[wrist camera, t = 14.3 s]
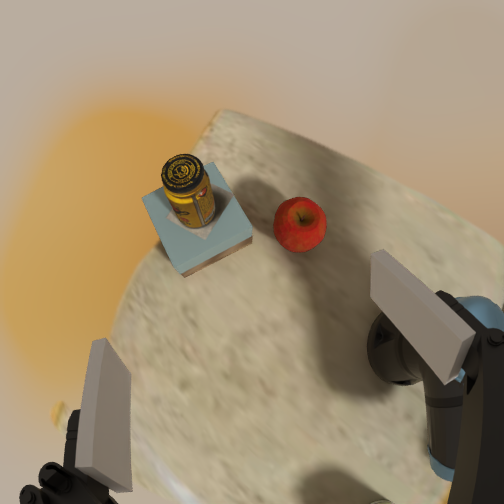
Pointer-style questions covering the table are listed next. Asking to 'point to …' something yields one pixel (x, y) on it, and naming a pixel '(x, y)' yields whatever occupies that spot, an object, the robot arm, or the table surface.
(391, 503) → the coffee can
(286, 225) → the apple
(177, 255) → the tower top
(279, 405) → the table surface
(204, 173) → the condiment
